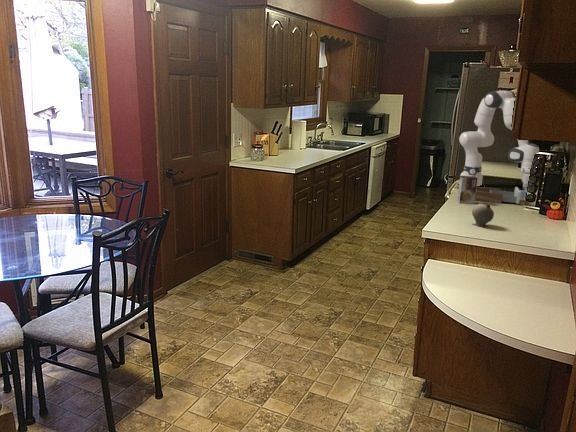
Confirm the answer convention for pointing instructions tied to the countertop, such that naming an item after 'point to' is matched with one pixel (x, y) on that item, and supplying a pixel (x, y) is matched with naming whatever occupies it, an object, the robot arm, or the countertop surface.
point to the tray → (509, 195)
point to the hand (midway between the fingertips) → (525, 190)
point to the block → (522, 194)
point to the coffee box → (467, 189)
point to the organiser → (488, 195)
